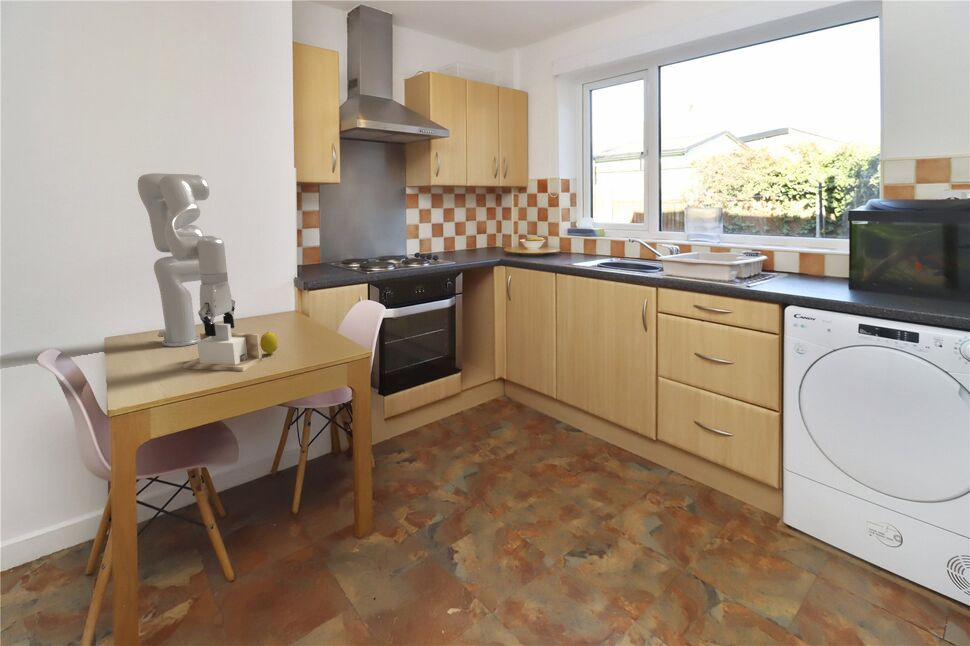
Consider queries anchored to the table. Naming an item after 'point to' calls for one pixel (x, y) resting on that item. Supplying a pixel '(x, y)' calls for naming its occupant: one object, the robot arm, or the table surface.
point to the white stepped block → (222, 347)
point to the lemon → (269, 343)
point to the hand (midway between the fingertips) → (220, 331)
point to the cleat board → (222, 366)
